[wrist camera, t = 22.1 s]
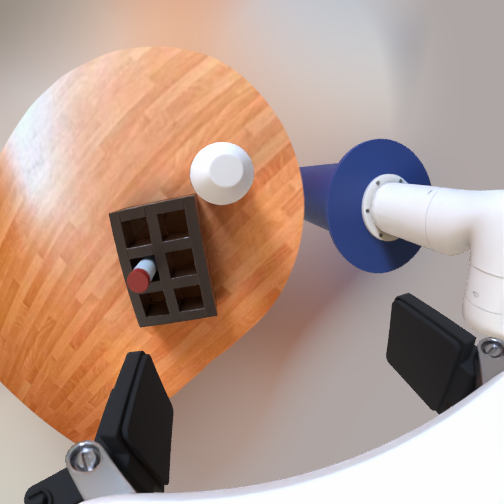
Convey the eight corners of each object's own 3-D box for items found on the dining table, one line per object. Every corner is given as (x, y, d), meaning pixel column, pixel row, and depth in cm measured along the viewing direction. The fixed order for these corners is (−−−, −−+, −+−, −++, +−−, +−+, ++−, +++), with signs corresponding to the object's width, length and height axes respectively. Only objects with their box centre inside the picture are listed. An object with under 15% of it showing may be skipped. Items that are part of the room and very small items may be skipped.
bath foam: (250, 168, 41) (285, 159, 22) (225, 207, 42) (239, 230, 22) (212, 144, 39) (214, 112, 20) (186, 183, 40) (166, 185, 21)
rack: (195, 193, 40) (193, 195, 36) (216, 301, 45) (217, 315, 40) (119, 209, 39) (108, 213, 34) (145, 313, 44) (139, 327, 39)
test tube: (158, 249, 42) (145, 269, 32) (163, 267, 42) (150, 291, 33) (141, 253, 41) (124, 273, 32) (146, 270, 42) (130, 294, 33)
